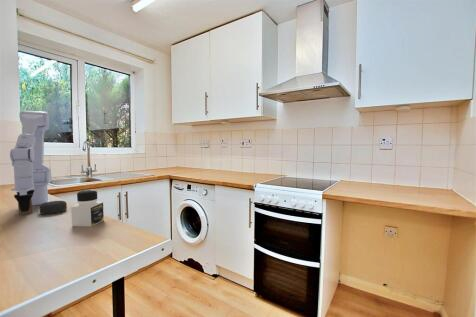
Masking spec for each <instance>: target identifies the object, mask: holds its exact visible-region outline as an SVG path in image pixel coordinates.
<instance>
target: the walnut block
mask: <svg viewBox="0 0 476 317" xmlns="http://www.w3.org/2000/svg"><path fill="white" fill-rule="evenodd" d="M17 207H18V216H22V215H28V214H29V215H30V214H33V211H34V210H33V205H32V200H30V206H29V211H26V212H21V210H20V207H19V204H18V203H17Z"/></svg>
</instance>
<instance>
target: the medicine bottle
mask: <svg viewBox="0 0 476 317" xmlns="http://www.w3.org/2000/svg"><path fill="white" fill-rule="evenodd" d="M76 198H77V204H75V205H72V206H71V207H70V210H71V211H70V213H71V214H70V215H71V226H72V227H80V228H81V227H82V228H83V227H86V228H89V227H90V228H91V227H93V226H95V225H97V224H99V223H101V222H103V221H104V219H105V218H104V202H103V201H98V191H97V190H95V189H84V190H80V191H78V192H77V193H76Z"/></svg>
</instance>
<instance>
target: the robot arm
mask: <svg viewBox="0 0 476 317" xmlns="http://www.w3.org/2000/svg"><path fill="white" fill-rule="evenodd" d="M19 121H20V123H21V125H22V127H23V129H22V133H21V134H19V135H18V136H17V139H16V142H15V145H14V148H12V149H10V152H9V157H10V158H9V159H10V160H11V166H12V167H13V177H14V178H13V179H14V180H13V181H14V187H11V188H10V191H15V192H16V194H14V195H13V198H14V199H15V200H16V201H17V205H18V204H19V207H20V210H21V212H26V211H29V206H30V200H32V206H38V205H39V206H40V205H41V204H43V203H46V202H50V199H49V193H48V191H49V190H48V188H49V187H48V184H51V181H52V172H51V168H50V166H47V165H45V164H44V158H45V157H44V154H45V153H44V149H45V148H44V147H45V146H44V145H45V141H44V140H45V133H46V131H48V130H50V115H49V112H48V111H37V110H23V109H22V110H20V112H19Z"/></svg>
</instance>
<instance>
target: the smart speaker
mask: <svg viewBox="0 0 476 317" xmlns="http://www.w3.org/2000/svg"><path fill="white" fill-rule="evenodd" d="M66 210H68V206H67V202H66V201H64V200H52V201H49V202H46V203H43V204H40V205H39V213H40V214H41V215H55V214H59V213H63V212H65V211H66Z"/></svg>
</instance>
